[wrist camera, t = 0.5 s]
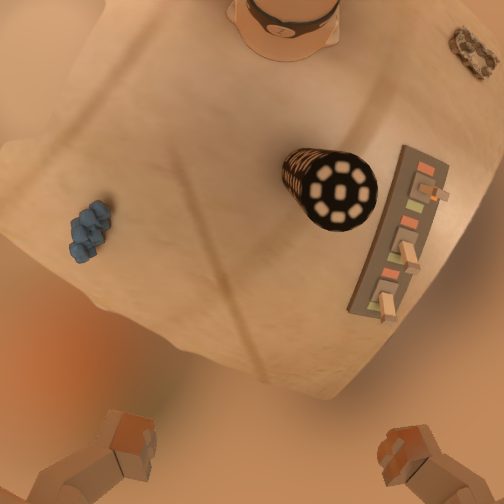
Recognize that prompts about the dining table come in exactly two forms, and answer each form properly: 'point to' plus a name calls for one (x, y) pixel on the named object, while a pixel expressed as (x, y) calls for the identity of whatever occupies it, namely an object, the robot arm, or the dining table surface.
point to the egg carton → (469, 48)
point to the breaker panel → (399, 231)
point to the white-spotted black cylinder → (331, 187)
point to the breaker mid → (409, 258)
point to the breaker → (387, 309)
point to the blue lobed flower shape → (89, 231)
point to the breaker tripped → (434, 192)
